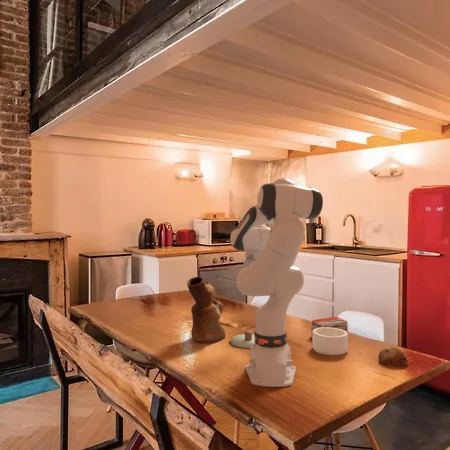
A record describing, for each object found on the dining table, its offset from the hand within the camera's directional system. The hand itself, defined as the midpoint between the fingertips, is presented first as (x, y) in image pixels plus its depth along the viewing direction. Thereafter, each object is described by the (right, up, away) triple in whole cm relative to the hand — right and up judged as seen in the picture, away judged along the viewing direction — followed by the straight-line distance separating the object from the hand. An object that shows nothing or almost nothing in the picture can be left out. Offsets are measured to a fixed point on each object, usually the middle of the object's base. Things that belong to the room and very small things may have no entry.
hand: (255, 285), depth 183 cm
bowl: (+31, -26, -8) cm, 42 cm away
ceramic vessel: (-23, -26, +4) cm, 35 cm away
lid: (-3, -26, +1) cm, 26 cm away
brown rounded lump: (+52, -27, -23) cm, 63 cm away
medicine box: (+36, -26, +10) cm, 45 cm away
